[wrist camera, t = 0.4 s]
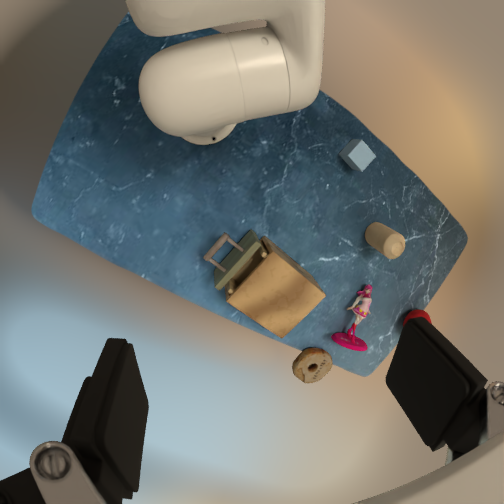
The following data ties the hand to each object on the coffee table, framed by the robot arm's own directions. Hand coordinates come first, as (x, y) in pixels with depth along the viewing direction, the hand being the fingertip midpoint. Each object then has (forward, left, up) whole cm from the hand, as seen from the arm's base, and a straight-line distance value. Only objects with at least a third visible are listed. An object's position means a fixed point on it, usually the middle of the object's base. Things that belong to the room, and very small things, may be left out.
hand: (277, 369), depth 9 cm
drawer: (+9, +15, -49) cm, 52 cm away
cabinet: (+9, +21, -50) cm, 55 cm away
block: (-22, +16, -50) cm, 56 cm away
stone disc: (+20, +52, -48) cm, 73 cm away
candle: (-14, +33, -50) cm, 61 cm away
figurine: (+9, +47, -45) cm, 66 cm away
